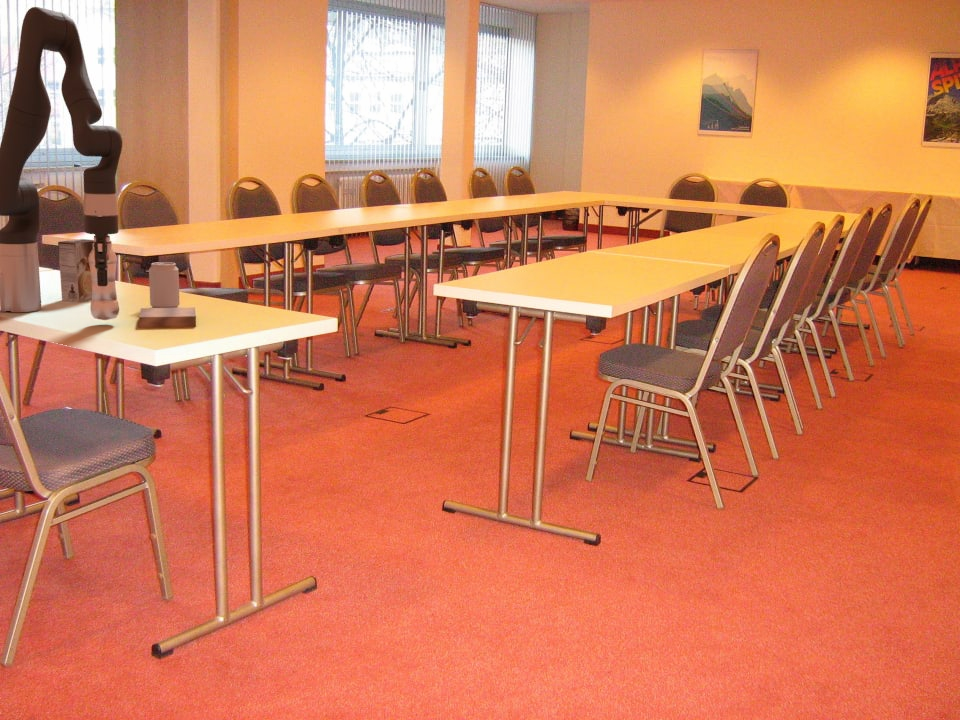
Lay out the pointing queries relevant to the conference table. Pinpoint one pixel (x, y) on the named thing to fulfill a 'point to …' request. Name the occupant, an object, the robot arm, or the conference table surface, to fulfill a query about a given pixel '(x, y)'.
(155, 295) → the can
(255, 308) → the conference table surface
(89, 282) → the coffee box
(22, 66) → the robot arm
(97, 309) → the plastic bottle
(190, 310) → the walnut block
